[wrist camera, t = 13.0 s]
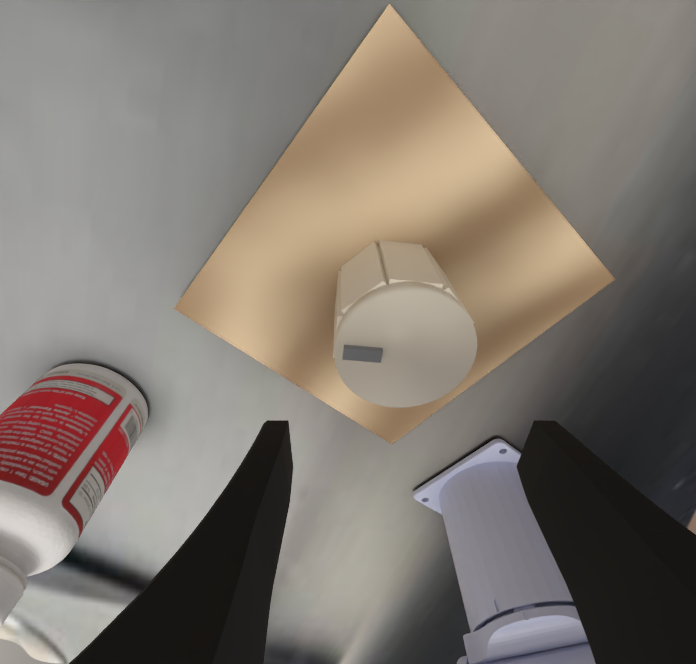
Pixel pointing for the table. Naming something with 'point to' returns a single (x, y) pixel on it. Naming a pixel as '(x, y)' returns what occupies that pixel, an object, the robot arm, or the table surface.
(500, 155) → the stub plate
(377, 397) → the cream control knob
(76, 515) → the pill bottle
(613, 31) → the table surface
